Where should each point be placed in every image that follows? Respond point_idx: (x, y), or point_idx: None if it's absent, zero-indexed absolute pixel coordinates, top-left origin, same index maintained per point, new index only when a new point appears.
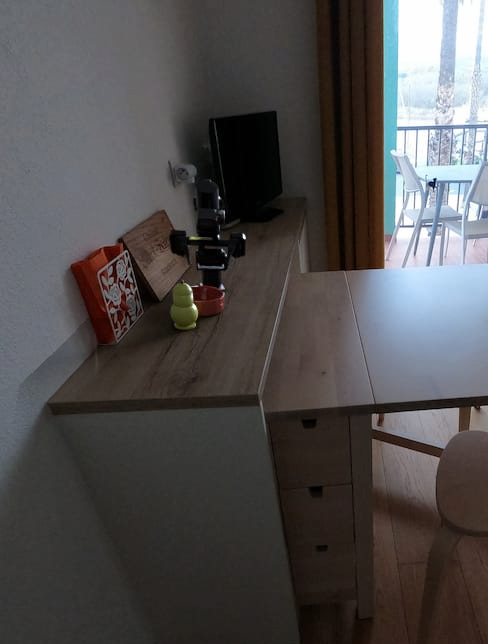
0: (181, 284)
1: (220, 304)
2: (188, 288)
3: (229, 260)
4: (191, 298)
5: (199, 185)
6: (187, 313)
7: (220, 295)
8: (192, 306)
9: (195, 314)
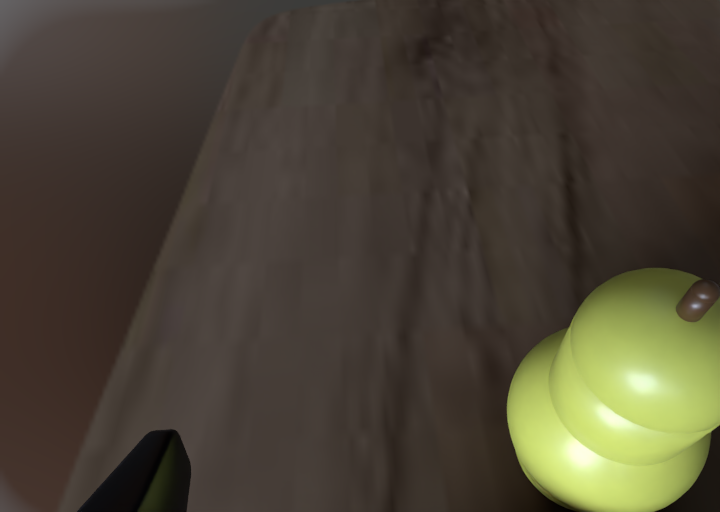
0: (683, 291)
1: None
2: (605, 298)
3: (105, 494)
4: (563, 342)
5: None
6: (560, 330)
7: None
8: (546, 367)
9: (515, 374)
